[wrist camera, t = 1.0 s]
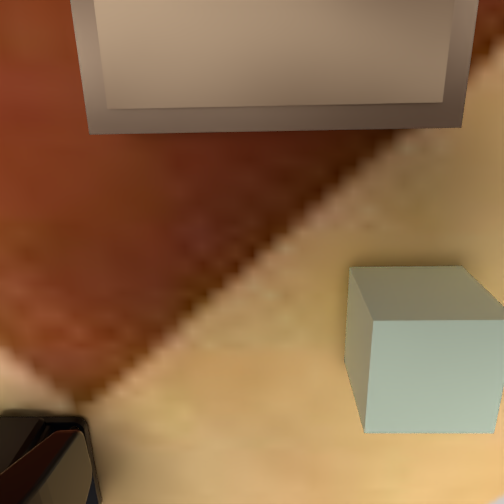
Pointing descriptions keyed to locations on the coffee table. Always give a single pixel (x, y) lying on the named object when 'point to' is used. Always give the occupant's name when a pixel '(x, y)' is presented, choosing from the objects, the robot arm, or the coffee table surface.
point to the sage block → (424, 350)
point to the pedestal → (273, 64)
